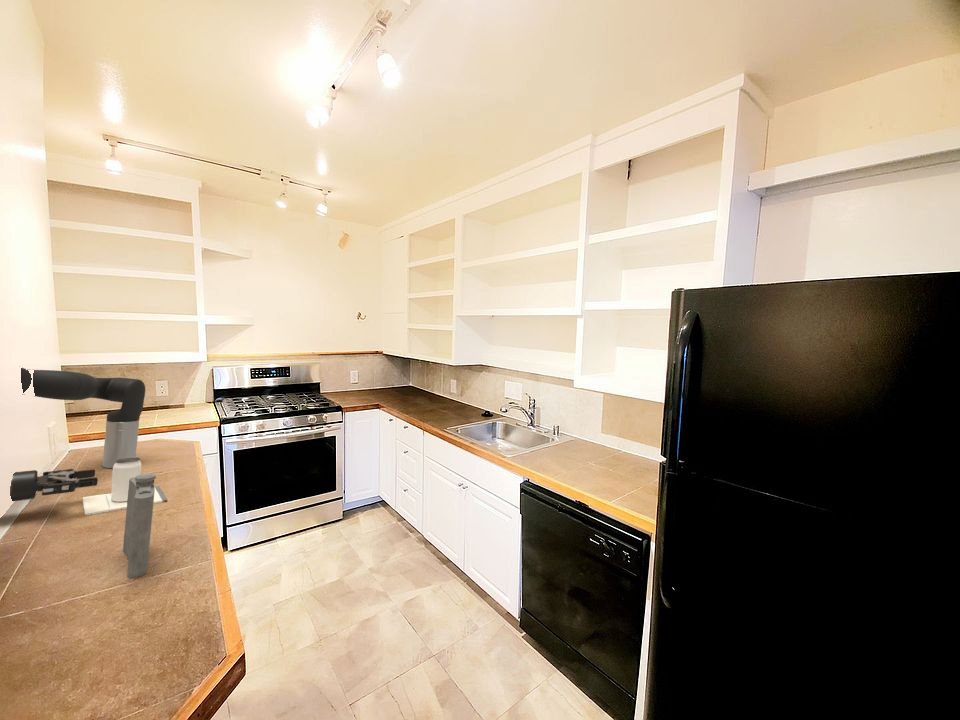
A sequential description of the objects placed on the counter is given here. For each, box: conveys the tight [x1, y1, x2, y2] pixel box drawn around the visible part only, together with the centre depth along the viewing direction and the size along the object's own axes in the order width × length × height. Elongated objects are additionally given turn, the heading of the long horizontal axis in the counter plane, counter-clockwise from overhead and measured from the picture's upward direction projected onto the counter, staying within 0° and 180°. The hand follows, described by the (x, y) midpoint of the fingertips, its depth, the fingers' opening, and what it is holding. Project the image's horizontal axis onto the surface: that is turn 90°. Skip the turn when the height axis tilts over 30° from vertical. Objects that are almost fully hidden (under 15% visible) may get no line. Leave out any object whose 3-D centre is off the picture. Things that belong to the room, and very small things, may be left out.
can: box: [110, 457, 142, 502], centre depth 118 cm, size 6×6×12 cm
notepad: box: [82, 485, 168, 517], centre depth 118 cm, size 14×18×1 cm
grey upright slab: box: [122, 473, 156, 579], centre depth 89 cm, size 16×4×20 cm, turn 46°
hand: (96, 477), depth 112 cm, fingers open, 8 cm apart
